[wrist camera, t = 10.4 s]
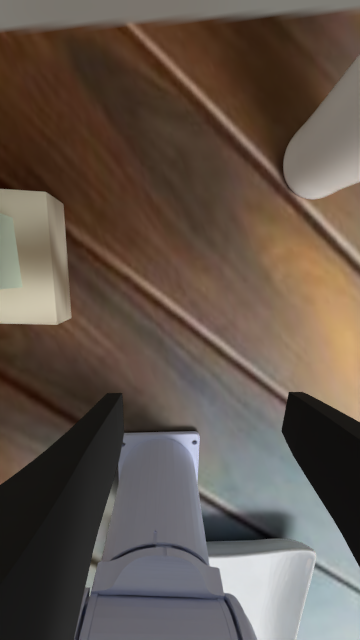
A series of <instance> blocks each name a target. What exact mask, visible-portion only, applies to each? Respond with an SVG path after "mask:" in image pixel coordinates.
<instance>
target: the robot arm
mask: <svg viewBox="0 0 360 640" xmlns="http://www.w3.org/2000/svg"><path fill="white" fill-rule="evenodd" d="M282 433H283V435H284V437H285V440H286V442H287V444H288V446H289V448H290V450H291V452H292V454H293V456H294V458H295V459H296V461H297V463H298V464H299V466H300V467H301V469H302V471H303V472H304V474H305V475H306V477H307V479H308V480H309V482H310V483H311V485H312V486H313V488H314V490H315V491H316V493H317V494H318V496H319V498H320V499H321V501H322V502H323V504H324V505H325V507H326V509H327V510H328V512H329V513H330V515H331V517H332V518H333V520H334V521H335V523H336V525H337V527H338V528H339V530H340V532H341V533H342V535H343V537H344V539H345V541H346V542H347V544H348V546H349V548H350V550H351V552H352V554H353V556H354V557H355V559H356V561H357V563H358V565H359V567H360V422H358V421H356V420H355V419H353V418H351V417H349V416H347V415H345V414H344V413H342V412H340V411H338V410H336V409H334V408H333V407H331V406H329V405H327V404H325V403H323V402H322V401H320V400H318V399H316V398H314V397H312V396H310V395H308V394H306V393H303V392H289V395H288V400H287V405H286V410H285V415H284V421H283V426H282ZM194 440H196V441H195V442H193V441H194ZM123 442H124V443H125V444H122V443H123ZM199 442H200V436H199V433H198V432H196V431H183V432H143V433H124V421H123V401H122V393H107V394H106V395H105V396H104V397H103V398H102V399H101V400H100V401H99V402H98V403H97V404H96V405H95V406H94V407H93V408H92V409H91V410H90V411H89V412H88V413H87V414H86V415H85V416H84V417H82V418H81V419H80V420H79V421H78V422H77V423H76V424H75V425H74V426H73V427H72V428H71V429H70V430H69V431H68V432H66V433H65V434H64V435H63V436H62V437H61V438H60V439H58V440H57V441H56V442H55V443H54V444H53V445H52V446H50V447H49V448H48V449H47V450H46V451H45V452H43V453H42V454H41V455H40V456H38V457H37V458H36V459H35V460H33V461H32V462H31V463H29V464H28V465H27V466H25V467H24V468H23V469H21V470H20V471H19V472H17V473H16V474H15V475H14V476H12V477H11V478H9V479H8V480H7V481H5V482H4V483H3V484H1V485H0V640H257V637H256V635H255V632H254V630H253V627H252V625H251V623H250V621H249V619H248V617H247V616H246V614H245V612H244V610H243V608H242V606H241V604H240V603H239V601H238V600H237V598H236V597H235V596H234V595H232V594H230V593H224V591H223V586H222V580H221V575H220V569H219V568H217V567H211V566H210V564H209V558H208V551H207V545H206V538H205V532H204V525H203V518H202V512H201V505H200V499H199V492H198V486H197V480H198V461H199ZM117 466H118V472H119V484H118V489H117V493H116V498H115V502H114V507H113V511H112V516H111V520H110V525H109V529H108V534H107V538H106V543H105V547H104V551H103V556H102V560H101V561H100V562H99V563H98V565H97V569H96V574H95V578H94V582H93V586H92V591H91V595H90V596H89V593H90V588H86V587H85V585H86V580H87V576H88V571H89V567H90V562H91V558H92V553H93V549H94V545H95V541H96V537H97V534H98V530H99V526H100V523H101V520H102V516H103V513H104V510H105V506H106V503H107V500H108V496H109V493H110V489H111V486H112V483H113V479H114V476H115V473H116V469H117Z"/></svg>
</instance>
